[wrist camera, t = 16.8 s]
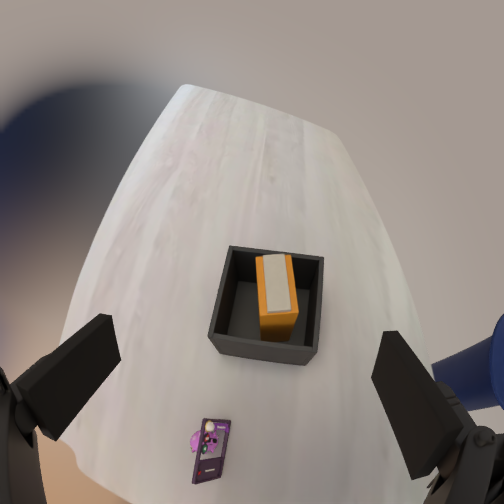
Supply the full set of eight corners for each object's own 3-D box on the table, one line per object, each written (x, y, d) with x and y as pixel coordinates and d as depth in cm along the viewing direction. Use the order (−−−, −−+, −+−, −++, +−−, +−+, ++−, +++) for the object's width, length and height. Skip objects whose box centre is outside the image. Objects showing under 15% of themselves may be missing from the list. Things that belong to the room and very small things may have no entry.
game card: (199, 486, 23) (211, 420, 27) (164, 472, 25) (175, 410, 29) (225, 478, 28) (236, 421, 33) (193, 468, 30) (203, 414, 35)
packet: (284, 296, 42) (291, 251, 31) (289, 340, 38) (299, 310, 28) (257, 298, 42) (255, 253, 31) (260, 343, 38) (259, 313, 28)
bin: (312, 288, 43) (324, 256, 35) (305, 365, 37) (317, 352, 29) (235, 278, 45) (229, 245, 36) (219, 353, 38) (207, 336, 30)
